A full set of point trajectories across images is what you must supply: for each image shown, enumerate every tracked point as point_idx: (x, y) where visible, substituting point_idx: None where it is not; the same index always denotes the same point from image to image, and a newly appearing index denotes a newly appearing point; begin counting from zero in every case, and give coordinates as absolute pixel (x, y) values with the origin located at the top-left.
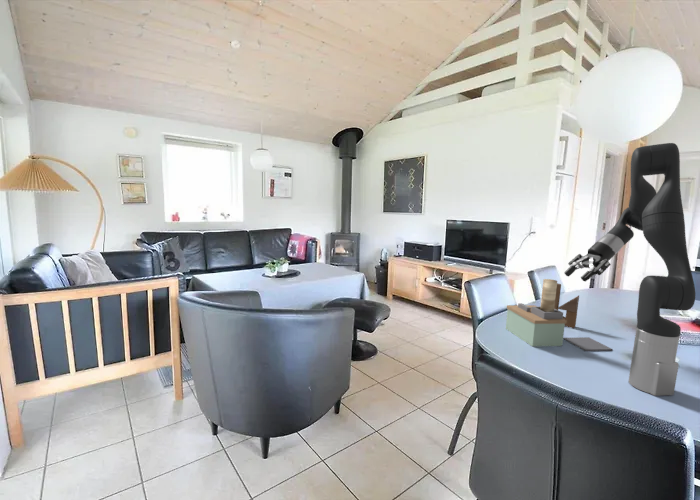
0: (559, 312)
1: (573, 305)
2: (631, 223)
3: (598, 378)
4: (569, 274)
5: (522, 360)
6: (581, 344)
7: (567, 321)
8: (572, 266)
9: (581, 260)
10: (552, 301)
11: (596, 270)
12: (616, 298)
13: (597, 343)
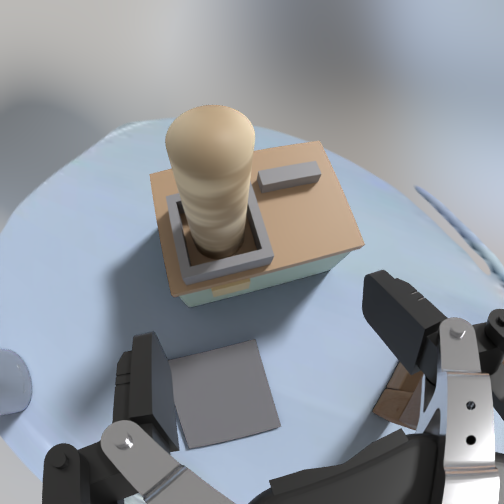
0: (181, 261)
1: (417, 414)
2: None
3: (25, 299)
4: (373, 319)
5: (91, 173)
6: (204, 371)
7: (389, 395)
8: (437, 338)
9: (449, 435)
10: (184, 211)
11: (52, 452)
12: None
13: (228, 428)
